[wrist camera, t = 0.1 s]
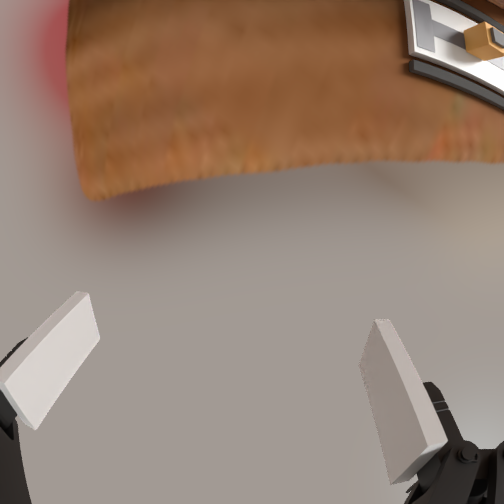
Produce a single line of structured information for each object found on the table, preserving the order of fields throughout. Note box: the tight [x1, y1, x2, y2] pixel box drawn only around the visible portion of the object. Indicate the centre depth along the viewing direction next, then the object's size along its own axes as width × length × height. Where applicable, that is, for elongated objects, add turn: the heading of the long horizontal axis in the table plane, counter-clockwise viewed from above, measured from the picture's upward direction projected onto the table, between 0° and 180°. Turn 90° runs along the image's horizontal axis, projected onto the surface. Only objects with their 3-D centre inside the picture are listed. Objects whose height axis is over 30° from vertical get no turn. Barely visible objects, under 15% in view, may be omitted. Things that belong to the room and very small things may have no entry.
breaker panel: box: [404, 0, 504, 95], centre depth 25 cm, size 11×23×2 cm, turn 87°
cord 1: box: [436, 0, 504, 33], centre depth 22 cm, size 2×23×2 cm, turn 87°
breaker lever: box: [464, 22, 504, 61], centre depth 20 cm, size 4×4×7 cm
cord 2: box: [409, 60, 504, 110], centre depth 28 cm, size 2×23×2 cm, turn 87°
